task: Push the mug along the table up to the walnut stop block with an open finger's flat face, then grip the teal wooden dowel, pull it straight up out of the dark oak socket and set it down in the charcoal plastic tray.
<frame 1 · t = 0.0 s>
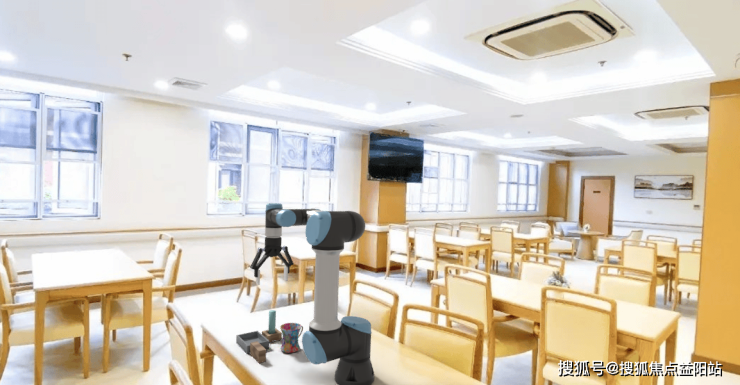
hand: (272, 282, 178), 28 cm above the table, fingers open, 13 cm apart
dowel: (272, 324, 182), in the socket
stop block: (257, 357, 162), on the table
socket: (271, 338, 183), on the table
tray: (252, 345, 174), on the table
mug: (292, 349, 172), on the table
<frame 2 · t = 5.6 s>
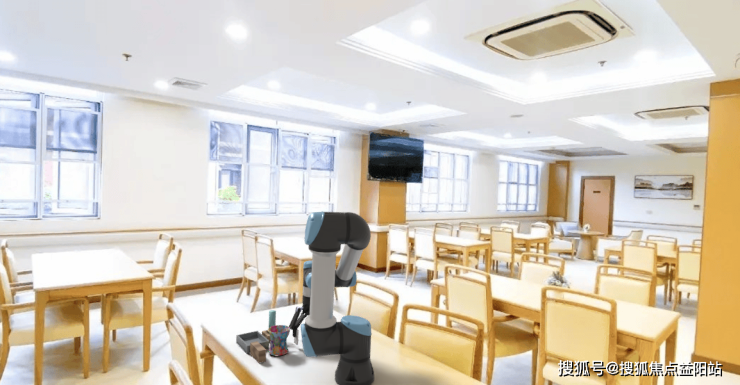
hand: (309, 340, 177), 2 cm above the table, fingers open, 13 cm apart
mug: (280, 352, 168), on the table, touching hand
everything else where it was.
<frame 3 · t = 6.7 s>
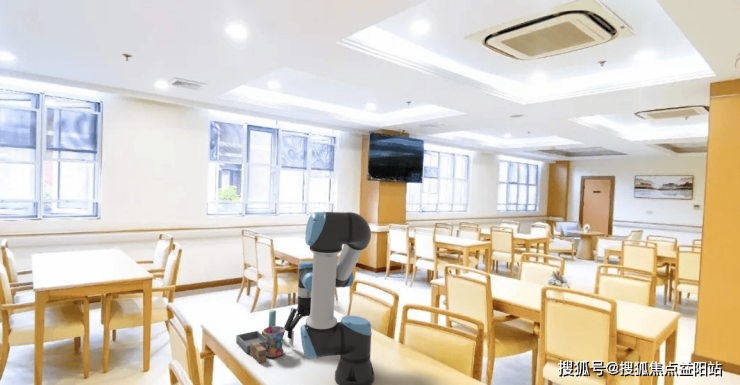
hand: (304, 341, 176), 2 cm above the table, fingers open, 13 cm apart
mug: (275, 353, 167), on the table, touching hand
everything else where it was.
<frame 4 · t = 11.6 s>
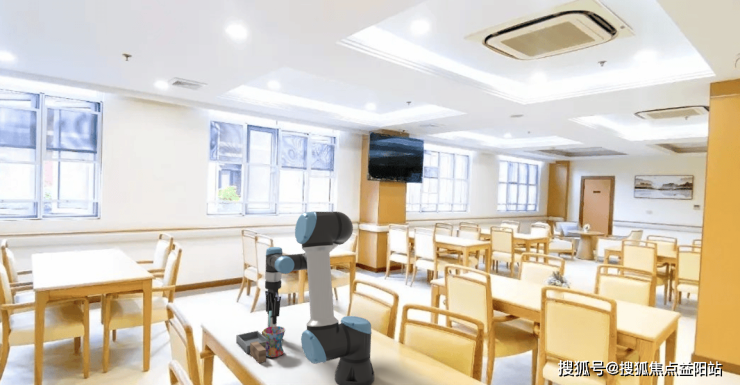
hand: (271, 328, 182), 5 cm above the table, fingers closed on dowel, 3 cm apart
dowel: (272, 324, 182), in the socket, touching gripper
mug: (275, 353, 167), on the table
when the fingers open (6 cm above the table, at t = 16.7 s): dowel stays where it is, resting on tray.
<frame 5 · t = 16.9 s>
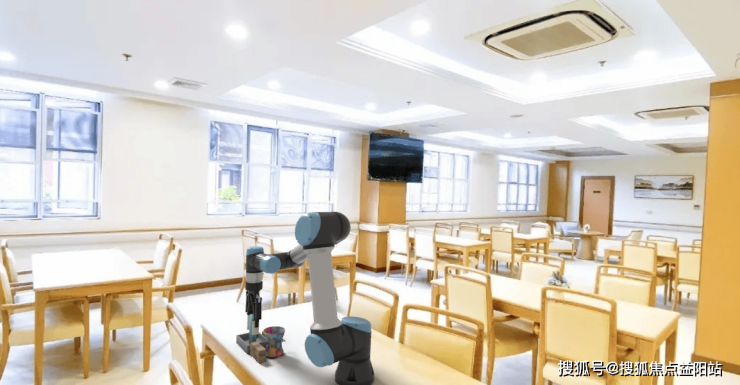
hand: (252, 331, 174), 6 cm above the table, fingers open, 6 cm apart
dowel: (252, 329, 174), in the tray, point 8 cm above the table
everything else where it was.
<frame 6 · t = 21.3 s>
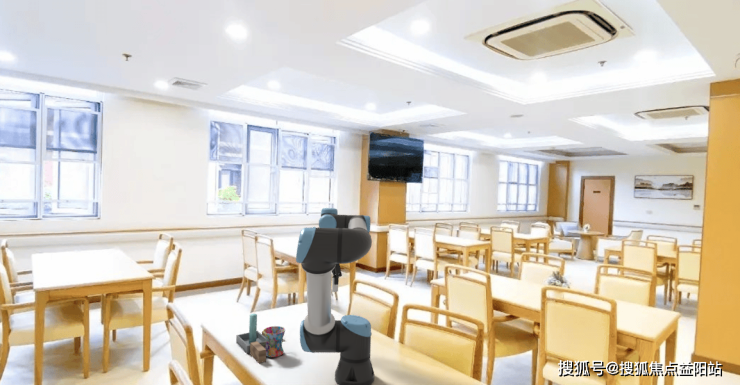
hand: (327, 288, 176), 27 cm above the table, fingers open, 13 cm apart
nothing on the table moved.
at the end: dowel inside the target area on the tray (0.0 cm from its centre), point 7.5 cm above the tray's base; the gripper is holding nothing; mug inside the target area (0.2 cm from its centre), on the table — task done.
